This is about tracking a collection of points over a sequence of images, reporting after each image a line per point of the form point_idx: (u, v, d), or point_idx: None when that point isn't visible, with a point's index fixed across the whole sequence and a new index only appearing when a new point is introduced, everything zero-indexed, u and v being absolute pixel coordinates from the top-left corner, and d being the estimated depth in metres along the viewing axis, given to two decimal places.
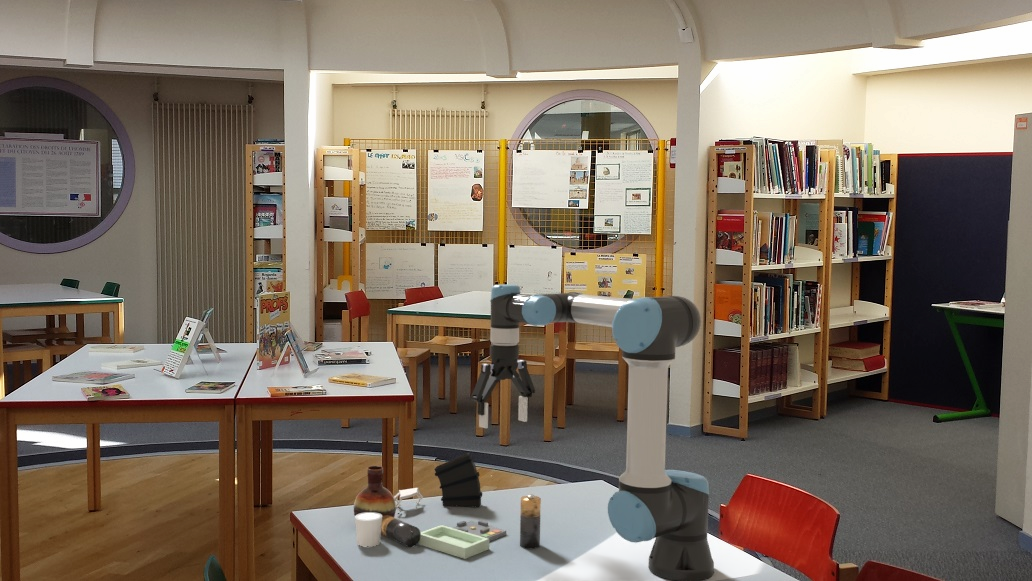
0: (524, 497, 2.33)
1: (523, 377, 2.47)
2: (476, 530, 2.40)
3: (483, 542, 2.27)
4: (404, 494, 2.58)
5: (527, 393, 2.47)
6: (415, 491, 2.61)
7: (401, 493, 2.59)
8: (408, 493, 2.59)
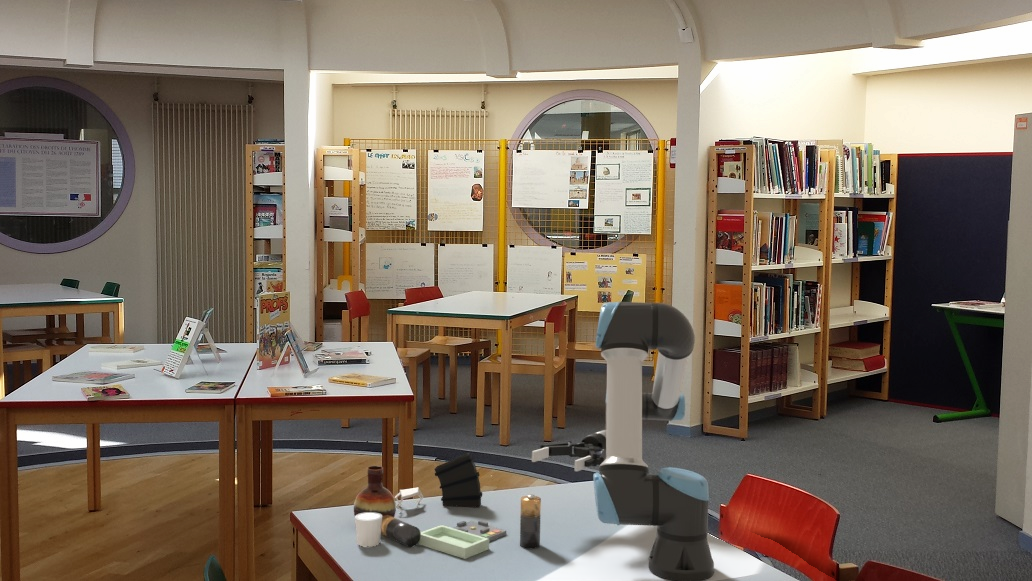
0: (524, 497, 2.33)
1: None
2: (476, 530, 2.40)
3: (483, 542, 2.27)
4: (405, 494, 2.58)
5: None
6: (416, 491, 2.61)
7: (402, 493, 2.59)
8: (409, 493, 2.59)
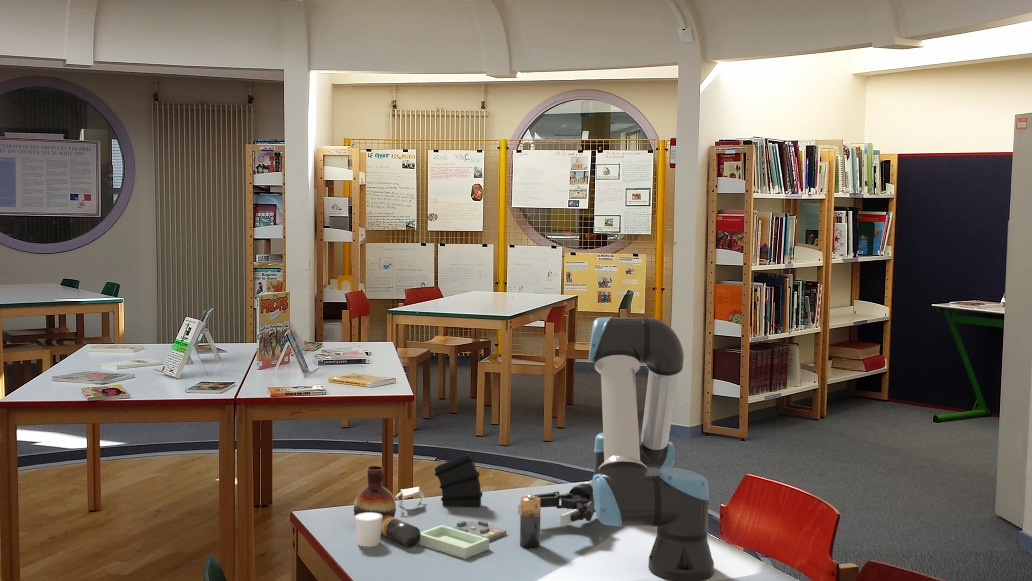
0: (524, 497, 2.33)
1: None
2: (476, 530, 2.40)
3: (483, 542, 2.27)
4: (406, 493, 2.58)
5: None
6: (417, 490, 2.62)
7: (403, 492, 2.59)
8: (410, 492, 2.60)
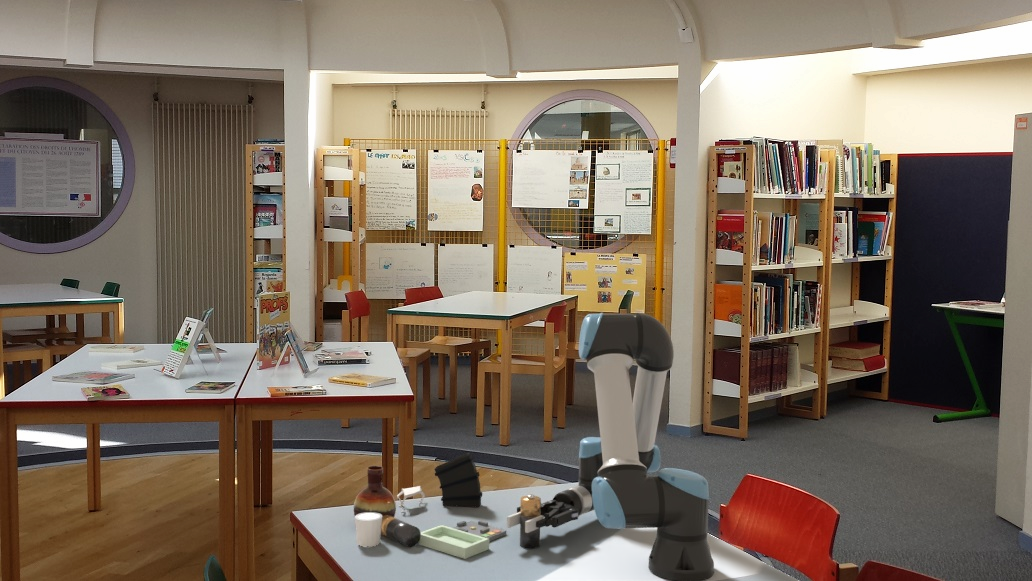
0: (524, 497, 2.33)
1: None
2: (476, 530, 2.40)
3: (483, 542, 2.27)
4: (408, 493, 2.59)
5: None
6: (418, 489, 2.62)
7: (405, 492, 2.60)
8: (412, 491, 2.60)
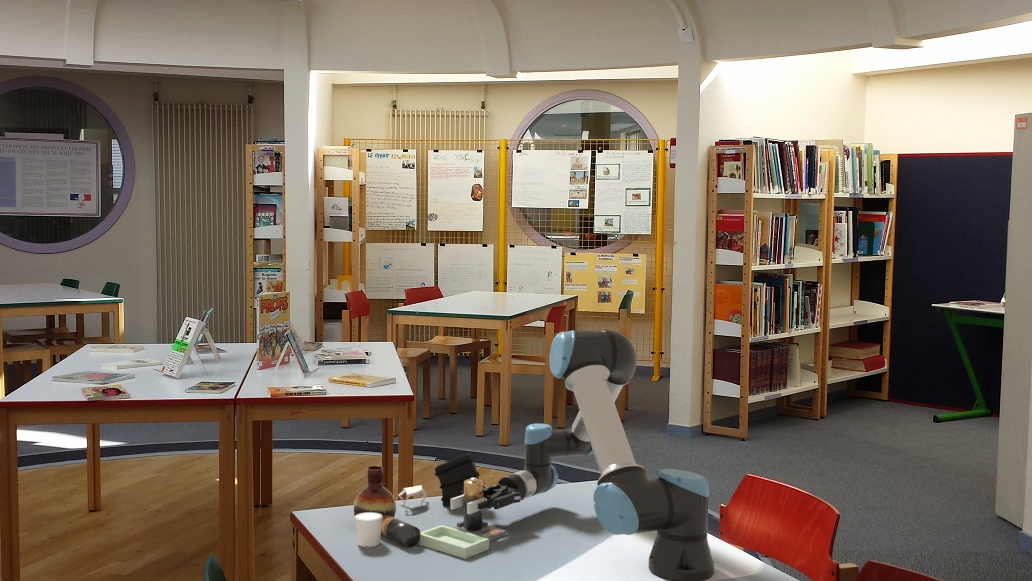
0: (467, 480, 2.41)
1: None
2: (476, 530, 2.40)
3: (483, 542, 2.27)
4: (410, 492, 2.60)
5: None
6: (420, 488, 2.63)
7: (407, 491, 2.61)
8: (414, 491, 2.61)
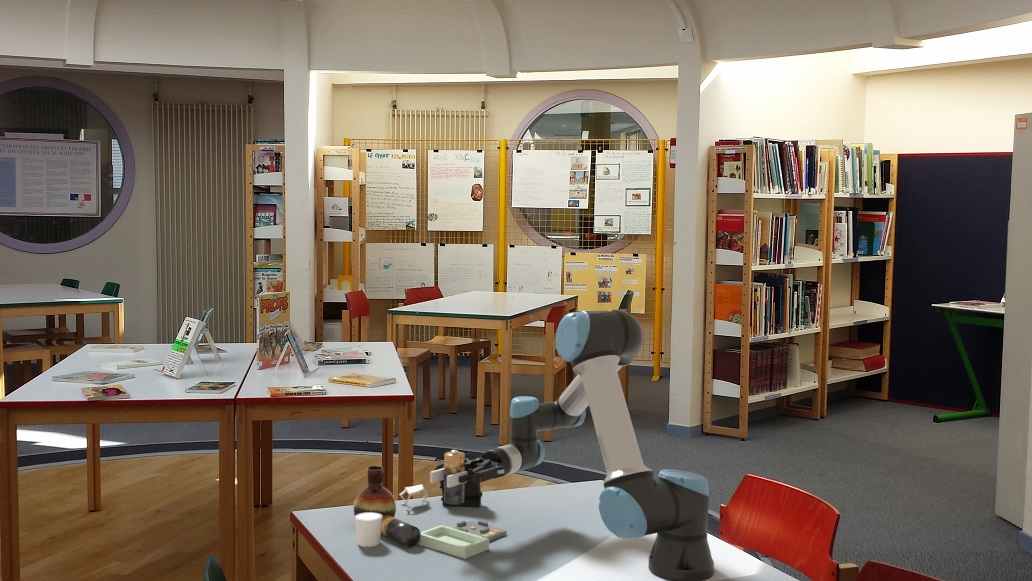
0: (448, 452, 2.31)
1: None
2: (476, 530, 2.40)
3: (483, 542, 2.27)
4: (412, 491, 2.61)
5: None
6: (421, 488, 2.64)
7: (408, 490, 2.61)
8: (415, 490, 2.62)
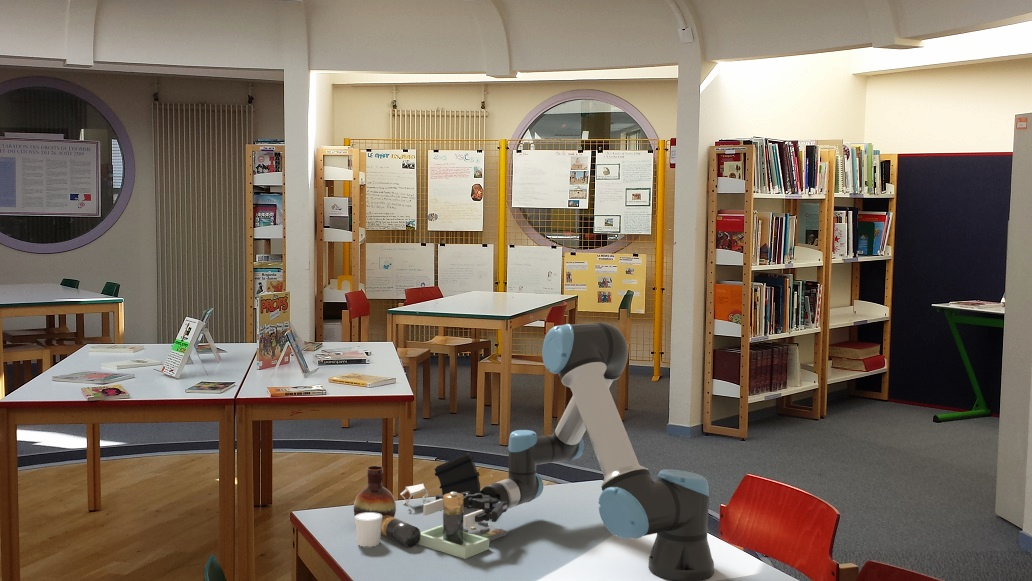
0: (447, 494, 2.31)
1: None
2: (476, 530, 2.40)
3: (483, 542, 2.27)
4: (413, 490, 2.61)
5: None
6: (422, 487, 2.65)
7: (410, 489, 2.62)
8: (417, 489, 2.62)
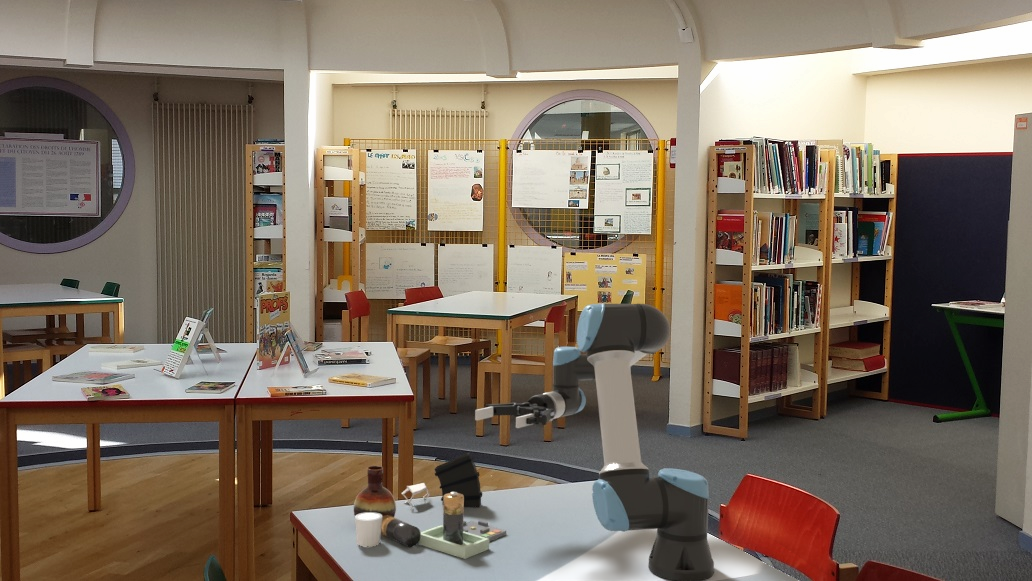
0: (447, 494, 2.31)
1: None
2: (476, 530, 2.40)
3: (483, 542, 2.27)
4: (415, 489, 2.62)
5: None
6: (424, 486, 2.66)
7: (411, 489, 2.63)
8: (418, 488, 2.63)
